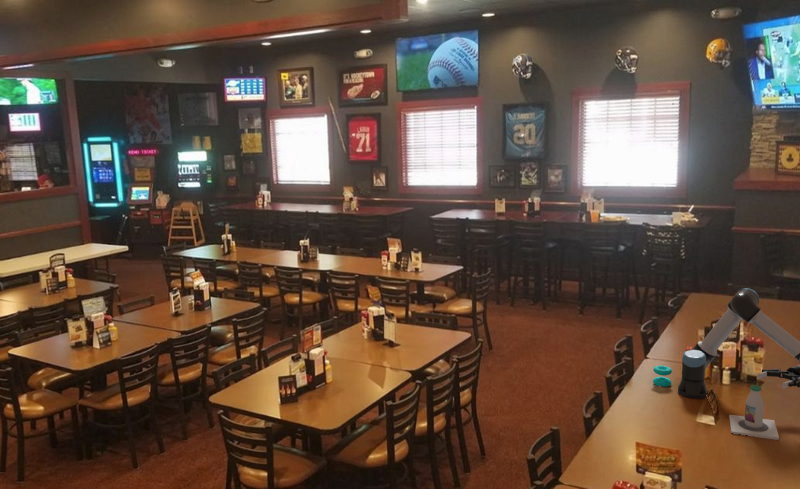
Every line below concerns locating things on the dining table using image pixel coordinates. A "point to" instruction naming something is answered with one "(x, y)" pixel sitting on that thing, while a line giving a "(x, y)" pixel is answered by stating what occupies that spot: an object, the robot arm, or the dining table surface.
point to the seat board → (765, 431)
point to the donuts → (663, 371)
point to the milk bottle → (754, 408)
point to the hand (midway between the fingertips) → (770, 381)
